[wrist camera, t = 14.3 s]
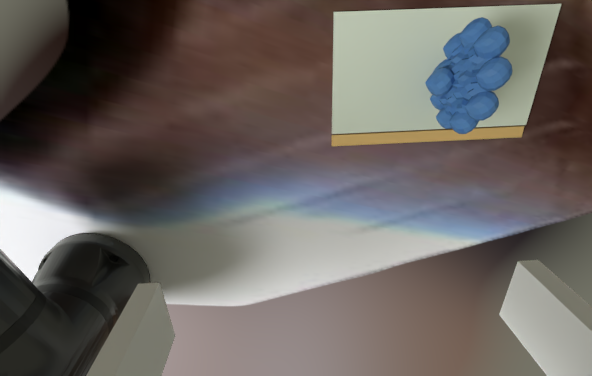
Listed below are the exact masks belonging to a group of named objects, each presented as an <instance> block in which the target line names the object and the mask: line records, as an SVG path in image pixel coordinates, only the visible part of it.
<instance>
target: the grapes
mask: <svg viewBox="0 0 592 376" xmlns="http://www.w3.org/2000/svg"><path fill="white" fill-rule="evenodd" d="M509 44H510V37H509V33H508V32H507V30H506V29H505V28H504V27H501V26H494V27H492V24H491V23H490V21H489V20H488V19H486V18H483V17H481V18H477V19H474V20H473V21H472V22H470V23H469V24H468V25H467V26H466V27H465V28H464V29H463V31H462V32H461V33H457V34H456V35H454V36H453V37H452V38H451V39H450V40H449V41H448V42H447V43H446V45H445V46H444V48H443V50H444V53H445V56H446V57H447V59H445V60H444V61H442V62H441V63H440V64H439V65H438V66H437V67H436V68H435V70H434V71H433V73H432V74H431V75H430V77H429V78H428V79H427V81H426V82H425V84H426V86H427V88H428V90H429V91H430V93H431V94H432V96H431V98H430V100H431V103H432V104H433V106H434V107H435V108H436V109H438V110H440V111H439V113H438V114H437V116H436V119H437V121H438V123H439V124H440V125H441V126H442V127H443V128H445V129H453V130H454V131H455V132H457V133H458V134H467V133H469V132H471V131H472V130H473V129H474V128H475V127H476V126H477V124H478V122H479V121H483V120H485V119H487V118H489V117H491V116H492V115H493V114H494V113H495V112H496V110H497V108H498V106H499V100H498V97H497V96H496V94H495V93H494V92H492V91H495V90H497V89H499V88H500V87H502V86H504V85H505V83H506V82H507V81H508V80H509V79H510V77H511V75H512V71H513V70H512V65H511V63H510V62H509V60H508V59H506V58H504V57H502V56H501V55H502V53H503V52H504V51H505V50H506V49H507V47H508V46H509ZM499 56H500V57H499Z"/></svg>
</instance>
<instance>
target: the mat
mask: <svg viewBox="0 0 592 376" xmlns="http://www.w3.org/2000/svg"><path fill="white" fill-rule="evenodd" d="M560 7H561V4H542V5H514V6H487V7H459V8H431V9H404V10H376V11H348V12H334V27H333V87H332V134H344V133H365V132H386V131H408V130H429V129H445V128H443V127H442V126H441V125H440V124H439V123H438V121H437V119H436V116H437V114H438V113H439V111H440V110H438V109H436V108H435V107H434V106H433V104H432V103H431V100H430V98H431V96H432V94H431V93H430V91H429V90H428V88H427V86H426V84H425V82H426V81H427V79H428V78H429V77H430V75H431V74H432V73H433V71H434V70H435V68H436V67H437V66H438V65H439V64H440V63H441V62H442V61H444V60H445V59H447V57H446V56H445V53H444V50H443V48H444V46H445V45H446V43H447V42H448V41H449V40H450V39H451V38H452V37H453V36H454V35H456V34H457V33H461V32H462V31H463V29H464V28H465V27H466V26H467V25H468V24H469V23H470V22H472V21H473V20H474V19H477V18H481V17H483V18H486V19H488V20H489V21H490V23H491V24H492V27H494V26H501V27H504V28H505V29H506V30H507V32H508V33H509V37H510V44H509V46H508V47H507V49H506V50H505V51H504V52H503V53H502V55H501V56H502V57H504V58H506V59H508V60H509V62H510V63H511V65H512V70H513V71H512V75H511V77H510V79H509V80H508V81H507V82H506V83H505V85H504V86H502V87H500V88H499V89H497V90H495V91H492V92H494V93H495V94H496V96H497V97H498V100H499V106H498V108H497V110H496V112H495V113H494V114H493V115H492V116H491V117H489V118H487V119H485V120H483V121H479V122H478V124H477V126H476V127H493V126H514V125H526V124H527V120H528V117H529V114H530V110H531V107H532V103H533V100H534V96H535V93H536V90H537V86H538V83H539V79H540V76H541V72H542V69H543V66H544V62H545V59H546V55H547V52H548V49H549V45H550V42H551V38H552V35H553V31H554V28H555V25H556V21H557V18H558V14H559V11H560ZM499 57H500V56H499Z"/></svg>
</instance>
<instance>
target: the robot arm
mask: <svg viewBox="0 0 592 376" xmlns="http://www.w3.org/2000/svg"><path fill="white" fill-rule="evenodd" d="M149 282H150V276H149V271H148V268H147V266H146V264H145V262H144V261H143V259H142V258H141V257H140V256H139V255H138V254H137V253H136V252H135V251H134V250H133V249H132V248H130V247H129V246H128V245H126V244H124V243H122V242H121V241H118V240H116V239H114V238H111V237H108V236H104V235H99V234H78V235H73V236H70V237H67V238H65V239H63V240H61V241H60V242H58V243H57V244H56V245H55V246H54V247H53V248H52V249H51V250H50V251H49V252H48V253H47V254H46V255H45V256H44V258H43V259H42V261H41V263H40V266H39V269H38V272H37V273H36V275H35V277H34V279H33V281H32V282H31V281H30V280H29V279H28V278H27V277H26V276H25V275H24V274H23V273H22V271H21V270H20V269H19V268H18V267H17V266H16V265H15V264H14V263H13V262H12V261H11V260H10V259H9V258H8V257H7V256H6V255H5V253H4V252H3V251H2V250H1V249H0V376H162V373H163V370H164V367H165V364H166V361H167V358H168V355H169V352H170V349H171V346H172V344H173V341H174V337H175V333H174V330H173V326H172V323H171V320H170V316H169V313H168V309H167V306H166V302H165V299H164V296H163V292H162V289H161V285H160V283H149ZM499 315H500V316H501V318H502V319H503V320H504V321H505V323H506V324H507V325H508V327H509V328H510V329H511V330H512V332H513V333H514V334H515V335H516V337H517V338H518V339H519V341H520V342H521V343H522V344H523V346H524V347H525V348H526V350H527V351H528V352H529V353H530V355H531V356H532V357H533V358H534V360H535V361H536V362H537V363H538V365H539V366H540V367H541V368H542V370H543V371H544V372H545V374H546V375H547V376H592V307H591V306H590V305H589V304H588V303H587V302H586V301H585V300H583V299H582V298H581V297H580V296H579V295H578V294H577V293H575V292H574V291H573V290H572V289H571V288H570V287H568V286H567V285H566V284H565V283H564V282H563V281H562V280H560V279H559V278H558V277H557V276H556V275H555V274H554V273H552V272H551V271H550V270H549V269H548V268H547V267H546V266H544V265H543V264H542V263H541V262H540V261H539V260H529V261H518V262H517V265H516V268H515V271H514V274H513V277H512V280H511V282H510V285H509V289H508V291H507V294H506V297H505V300H504V303H503V306H502V308H501V311H500V314H499Z"/></svg>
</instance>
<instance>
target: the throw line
mask: <svg viewBox="0 0 592 376" xmlns="http://www.w3.org/2000/svg"><path fill="white" fill-rule="evenodd" d="M524 127H525V126H508V127H486V128H474V129H473V130H472V131H471V132H469V133H467V134H458V133H457V132H455V131H454V130H453V129H444V130H423V131H402V132H381V133H359V134H338V135H332V146H349V145H369V144H390V143H411V142H432V141H452V140H473V139H494V138H515V137H522V134H523V130H524Z"/></svg>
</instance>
